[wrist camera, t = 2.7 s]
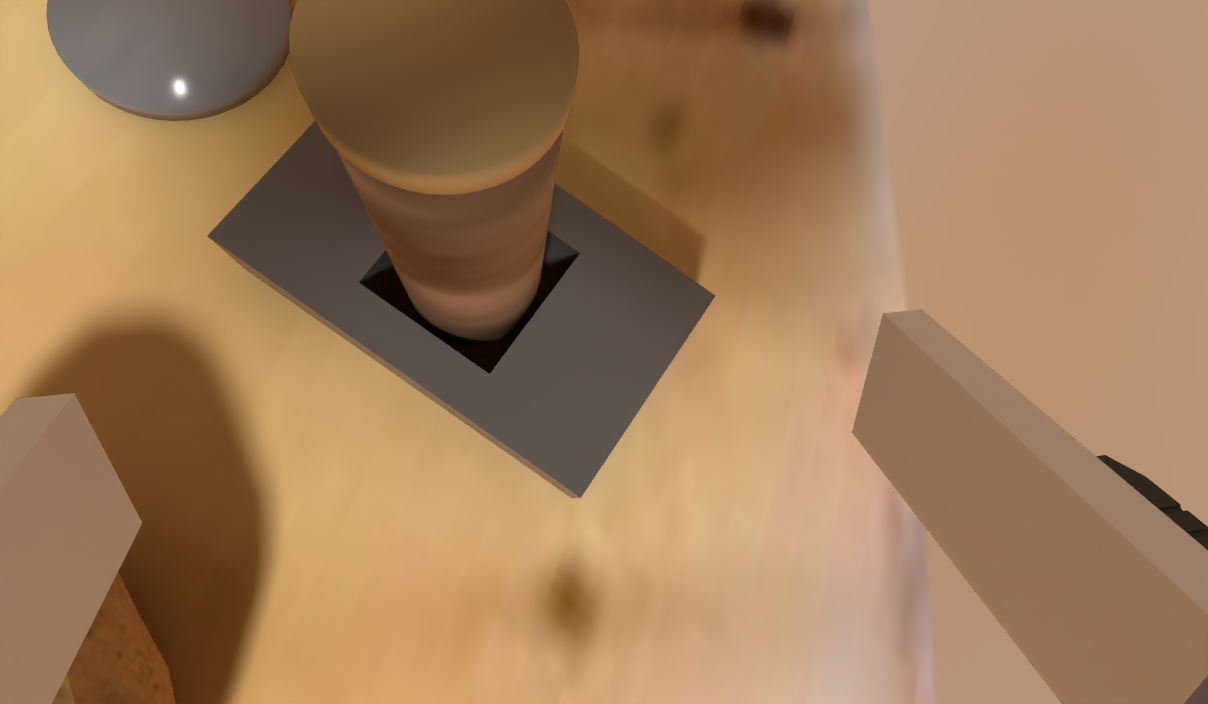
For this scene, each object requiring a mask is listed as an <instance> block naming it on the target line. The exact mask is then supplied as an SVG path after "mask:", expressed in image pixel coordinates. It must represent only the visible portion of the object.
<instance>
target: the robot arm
mask: <svg viewBox="0 0 1208 704" xmlns="http://www.w3.org/2000/svg"><path fill="white" fill-rule="evenodd" d="M852 433H853V434H854V436H855V437H856V438H857V439H858V441H859V442H860V443H861V445H862V446H863V447H864V448H865V450H866V451H867V452H868V454H869V455H870V456H871V458H872V459H873V460H874V461H875V463H876V464H877V465H878V467H879V468H880V469H881V470H882V472H883V473H884V474H885V476H886V477H887V478H888V480H889V481H890V482H891V483H892V485H893V486H894V487H895V489H896V490H897V491H898V492H899V494H900V495H901V496H902V498H903V499H904V500H905V501H906V503H907V504H908V505H909V507H910V508H911V509H912V511H913V512H914V513H915V514H916V516H917V517H918V518H919V520H920V521H921V522H922V523H923V525H924V526H925V527H926V529H927V530H928V531H929V532H930V534H931V535H932V536H933V538H934V539H935V540H936V541H937V543H938V544H939V545H940V547H941V548H942V549H943V551H944V552H945V553H946V554H947V556H948V557H949V558H950V560H951V561H952V562H953V564H954V565H955V566H956V567H957V569H958V570H959V571H960V572H961V574H962V575H963V576H964V578H965V579H966V580H967V582H968V583H969V584H970V585H971V587H972V588H973V589H974V591H975V592H976V593H977V594H978V596H979V597H980V598H981V600H982V601H983V602H984V604H985V605H986V606H987V607H988V609H989V610H990V611H991V613H992V614H993V615H994V616H995V618H996V619H997V620H998V622H999V623H1000V624H1001V626H1002V627H1003V628H1004V629H1005V631H1006V632H1007V633H1008V634H1009V636H1010V637H1011V638H1012V640H1013V641H1014V642H1015V644H1016V645H1017V646H1018V648H1019V649H1020V650H1021V651H1022V653H1023V654H1024V655H1025V656H1026V658H1027V659H1028V660H1029V662H1030V663H1031V664H1032V666H1033V667H1034V668H1035V669H1036V670H1037V672H1038V673H1039V675H1040V676H1041V677H1042V679H1043V680H1044V681H1045V682H1046V684H1047V685H1048V686H1049V687H1050V689H1051V690H1052V691H1053V693H1054V694H1055V695H1056V697H1057V698H1058V699H1059V701H1060V702H1061V703H1062V704H1208V527H1207V526H1206V525H1205V524H1203V523H1202V522H1201V521H1200V520H1198V519H1197V518H1196V517H1195V516H1194V515H1192V514H1191V513H1190V512H1189V511H1182V509H1181V507H1180V504H1179V503H1178V502H1176V501H1175V500H1174V499H1173V498H1171V497H1170V496H1169V495H1168V494H1166V493H1165V492H1164V491H1163V490H1162V489H1160V488H1159V487H1158V486H1157V485H1155V484H1154V483H1153V482H1152V481H1151V480H1149V479H1148V478H1147V477H1145V476H1143V475H1141V474H1140V473H1138V472H1136V471H1134V470H1132V469H1130V468H1128V467H1126V466H1125V465H1123V464H1121V463H1119V462H1117V461H1115V460H1113V459H1111V458H1110V457H1108V456H1106V455H1103V456H1095V455H1094V454H1093V453H1091V452H1090V451H1089V450H1088V449H1087V448H1085V447H1084V446H1083V445H1082V444H1081V443H1080V442H1078V441H1077V440H1076V439H1075V438H1074V437H1072V436H1071V435H1070V434H1069V433H1068V432H1066V431H1065V430H1064V429H1063V428H1062V427H1061V426H1059V425H1058V424H1057V423H1056V422H1054V421H1053V420H1052V419H1051V418H1050V417H1049V416H1047V415H1046V414H1045V413H1044V412H1043V411H1042V410H1040V409H1039V408H1038V407H1037V406H1035V405H1034V404H1033V403H1032V402H1031V401H1030V400H1028V399H1027V398H1026V397H1025V396H1024V395H1023V394H1021V393H1020V392H1019V391H1018V390H1017V389H1015V388H1014V387H1013V386H1012V385H1011V384H1009V383H1008V382H1007V381H1006V380H1004V379H1003V378H1002V377H1001V376H1000V375H999V374H998V373H996V372H995V371H994V370H993V369H991V368H990V367H989V366H988V365H987V364H986V363H984V362H983V361H982V360H981V359H980V358H978V357H977V356H976V355H975V354H974V353H973V352H971V351H970V350H969V349H968V348H967V347H965V346H964V345H963V344H962V343H961V342H960V341H958V340H957V339H956V338H955V337H954V336H952V335H951V334H950V333H949V332H948V331H947V330H945V329H944V328H943V327H942V326H941V325H939V324H938V323H937V322H936V321H934V320H933V319H932V318H931V317H930V316H929V315H927V314H926V313H925V312H924V311H923V310H913V311H903V312H892V313H883V316H882V319H881V323H880V327H879V331H878V335H877V339H876V342H875V346H874V350H873V354H872V358H871V361H870V365H869V369H868V373H867V377H866V380H865V384H864V388H863V392H862V396H861V400H860V403H859V407H858V411H857V415H856V419H855V422H854V426H853V430H852ZM141 525H142V521H141V519H140V517H139V516H138V514H137V512H136V510H135V508H134V506H133V504H132V502H131V500H130V498H129V496H128V495H127V493H126V491H125V489H124V487H123V485H122V483H121V481H120V479H119V477H118V475H117V474H116V472H115V470H114V468H113V466H112V464H111V462H110V460H109V458H108V456H107V454H106V452H105V451H104V449H103V447H102V445H101V443H100V441H99V439H98V437H97V435H96V433H95V431H94V430H93V428H92V426H91V424H90V422H89V420H88V418H87V416H86V414H85V412H84V410H83V409H82V407H81V405H80V403H79V401H78V399H77V397H76V395H75V393H70V394H59V395H49V396H39V397H29V398H19V399H16V400H15V401H14V402H13V403H12V405H11V406H10V407H9V408H8V409H7V410H6V411H5V412H4V414H3V415H2V416H1V417H0V704H52V702H53V700H54V698H55V696H56V694H57V692H58V690H59V688H60V686H61V684H62V682H63V680H64V678H65V676H66V674H67V672H68V670H69V668H70V666H71V664H72V662H73V660H74V658H75V656H76V654H77V652H78V650H79V648H80V646H81V644H82V642H83V641H84V639H85V637H86V635H87V633H88V631H89V629H90V627H91V625H92V623H93V621H94V619H95V617H96V615H97V613H98V611H99V609H100V607H101V605H102V603H103V601H104V599H105V597H106V595H107V593H108V591H109V589H110V587H111V585H112V583H113V581H114V579H115V577H116V575H117V573H118V571H119V569H120V567H121V565H122V563H123V561H124V559H125V557H126V555H127V553H128V551H129V549H130V547H131V545H132V543H133V541H134V539H135V537H136V535H137V533H138V531H139V529H140V527H141Z"/></svg>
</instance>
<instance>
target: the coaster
mask: <svg viewBox="0 0 1208 704" xmlns="http://www.w3.org/2000/svg"><path fill="white" fill-rule="evenodd" d="M291 18H292V9H291V4H290V1H289V0H48V2H47V23H48V30H49V33H50V37H51V40H52V43H53V45H54V47H55V49H56V51H57V53H58V55H59V56H60V58H61V59H62V61H63V62H64V63H65V65H66V66H67V67H68V68H69V69H70V70H71V71H72V72H73V74H74V75H75V76H76V77H77V78H78V79H79V80H80V81H81V82H82V83H83V84H85V85H86V86H87V87H88V88H89V89H90V90H91V91H92V92H93V93H95V94H96V95H97V96H98V97H100V98H101V99H103V100H104V101H106V102H108V103H109V104H111V105H112V106H114V107H117V108H119V109H121V110H123V111H126V112H128V113H132V114H135V115H138V116H141V117H146V118H151V119H157V120H170V121H178V120H193V119H199V118H205V117H209V116H213V115H217V114H220V113H222V112H225V111H228V110H230V109H233V108H235V107H236V106H238V105H240V104H242V103H244V102H246V101H247V100H249V99H250V98H252V97H253V96H255V95H256V94H257V93H259V92H260V91H261V90H262V89H263V88H264V87H265V86H266V85H268V83H269V82H270V81H271V80H272V79H273V78H274V76H275V75H276V74H277V72H278V71H279V69H280V68H281V66H282V65H283V63H284V61H285V59H286V56H287V54H288V52H289V32H290V23H291Z"/></svg>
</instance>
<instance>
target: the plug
mask: <svg viewBox="0 0 1208 704" xmlns="http://www.w3.org/2000/svg"><path fill="white" fill-rule="evenodd" d="M289 53H290V59H291V64H292V69H293V72H294V75H295V78H296V81H297V84H298V86H299V89H300V91H301V93H302V95H303V97H304V98H305V100H306V102H307V104H308V106H309V108H310V110H311V112H312V114H313V116H314V118H315V120H316V122H317V124H318V126H319V127H320V129H321V131H322V132H323V134H324V135H325V136H326V138H327V139H328V140H329V142H330V143H331V144H332V145H333V147H334V148H335V149H336V150H337V151H338V153H339V155H340V157H341V159H342V161H343V164H344V166H345V168H346V170H347V172H348V174H349V176H350V178H351V180H352V182H353V184H354V186H355V188H356V190H357V192H358V194H359V196H360V198H361V200H362V202H363V204H364V206H365V208H366V210H367V212H368V215H369V217H370V219H371V221H372V223H373V225H374V227H375V229H376V231H377V233H378V235H379V237H380V239H381V241H382V243H383V245H384V247H385V249H386V251H387V253H388V255H389V257H390V259H391V261H392V263H393V266H394V268H395V270H396V272H397V274H398V276H399V278H400V280H401V282H402V284H403V286H404V288H405V290H406V292H407V294H408V296H409V298H410V300H411V302H412V304H413V306H414V308H415V310H416V312H417V315H418V317H419V319H420V320H421V322H422V324H423V326H424V327H425V329H426V330H427V331H429V332H430V333H432V334H433V335H434V336H436V337H437V338H439V339H440V340H442V341H443V342H444V343H446V344H447V345H449V346H450V347H452V348H453V349H454V350H456V351H459V352H464V353H472V354H480V353H488V352H493V351H496V350H499V349H502V348H503V347H505V346H507V345H509V344H511V343H512V342H514V341H515V339H516V338H517V337H518V335H519V334H520V333H521V331H522V330H523V329H524V327H525V326H526V325H527V323H528V322H529V321H530V319H531V318H532V317H533V315H534V313H535V309H536V304H537V298H538V291H539V284H540V278H541V271H542V264H543V257H544V251H545V244H546V237H547V230H548V224H549V217H550V210H551V203H552V197H553V190H554V183H555V176H556V170H557V163H558V156H559V149H560V143H561V136H562V129H563V127H564V125H565V123H566V121H567V118H568V115H569V112H570V109H571V105H572V99H573V93H574V87H575V81H576V75H577V69H578V53H579V47H578V39H577V32H576V28H575V25H574V21H573V17H572V15H571V12H570V10H569V8H568V6H567V3H566V1H565V0H297V2H296V4H295V7H294V11H293V14H292V18H291V23H290V32H289Z"/></svg>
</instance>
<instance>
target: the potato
mask: <svg viewBox="0 0 1208 704" xmlns="http://www.w3.org/2000/svg"><path fill="white" fill-rule="evenodd" d="M52 704H176V702H175V697H174V692H173V686H172V681H171V676H170V671H169V668H168V666H167V664H166V662H165V660H164V659H163V657H162V655H161V653H160V651H159V649H158V648H157V646H156V644H155V642H154V640H153V638H152V637H151V635H150V633H149V631H148V629H147V627H146V626H145V624H144V622H143V620H142V618H141V616H140V614H139V612H138V610H137V608H136V606H135V604H134V602H133V600H132V598H131V596H130V594H129V592H128V590H127V588H126V586H125V584H124V582H123V580H122V578H121V576H120V574H119V572H118V573H117V575H116V577H115V579H114V581H113V583H112V585H111V587H110V589H109V591H108V593H107V595H106V597H105V599H104V601H103V603H102V605H101V607H100V609H99V611H98V613H97V615H96V617H95V619H94V621H93V623H92V625H91V627H90V629H89V631H88V633H87V635H86V637H85V639H84V641H83V642H82V644H81V646H80V648H79V650H78V652H77V654H76V656H75V658H74V660H73V662H72V664H71V666H70V668H69V670H68V672H67V674H66V676H65V678H64V680H63V682H62V684H61V686H60V688H59V690H58V692H57V694H56V696H55V698H54V700H53V702H52Z"/></svg>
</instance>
